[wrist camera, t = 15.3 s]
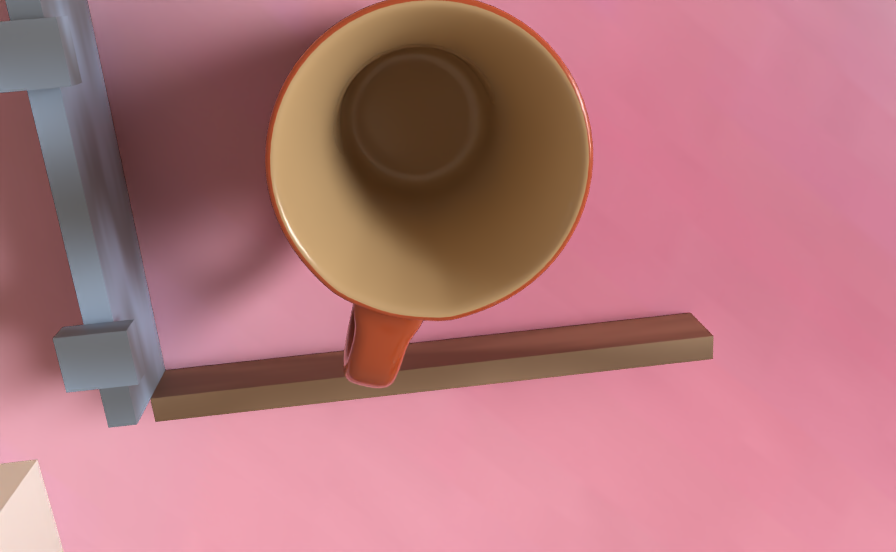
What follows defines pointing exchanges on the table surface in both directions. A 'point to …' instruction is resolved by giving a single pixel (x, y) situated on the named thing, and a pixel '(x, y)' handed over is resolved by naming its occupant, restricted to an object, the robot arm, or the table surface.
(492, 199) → the mug
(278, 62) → the table surface
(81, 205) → the bar
